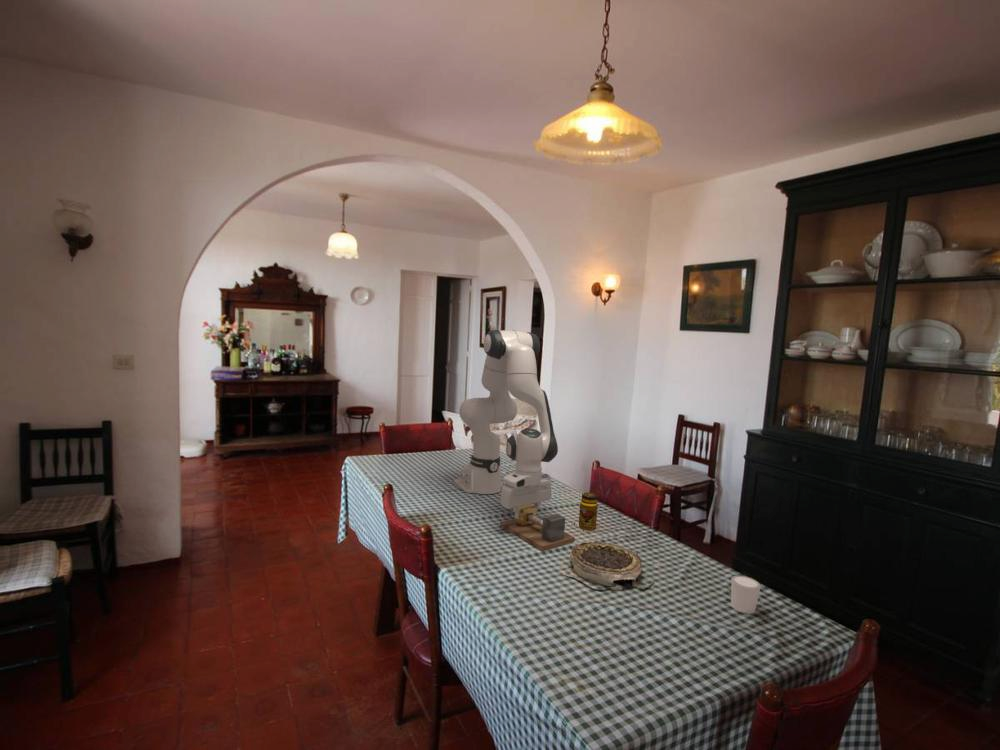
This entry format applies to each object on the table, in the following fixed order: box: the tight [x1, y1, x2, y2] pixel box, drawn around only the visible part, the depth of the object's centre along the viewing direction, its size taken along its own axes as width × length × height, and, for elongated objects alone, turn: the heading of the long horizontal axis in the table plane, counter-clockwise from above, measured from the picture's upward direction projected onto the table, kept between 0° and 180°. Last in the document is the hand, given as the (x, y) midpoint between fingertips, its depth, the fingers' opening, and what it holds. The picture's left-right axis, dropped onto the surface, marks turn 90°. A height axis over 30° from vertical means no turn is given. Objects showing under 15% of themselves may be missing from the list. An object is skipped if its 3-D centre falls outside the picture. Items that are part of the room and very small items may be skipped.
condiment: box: [572, 492, 601, 533], centre depth 177 cm, size 7×8×12 cm
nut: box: [514, 504, 537, 526], centre depth 173 cm, size 4×6×6 cm
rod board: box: [499, 513, 576, 552], centre depth 169 cm, size 22×14×8 cm, turn 37°
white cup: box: [730, 575, 762, 615], centre depth 130 cm, size 7×7×7 cm
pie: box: [558, 541, 655, 591], centre depth 147 cm, size 28×27×5 cm
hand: (525, 516), depth 173 cm, fingers closed on nut, 6 cm apart
